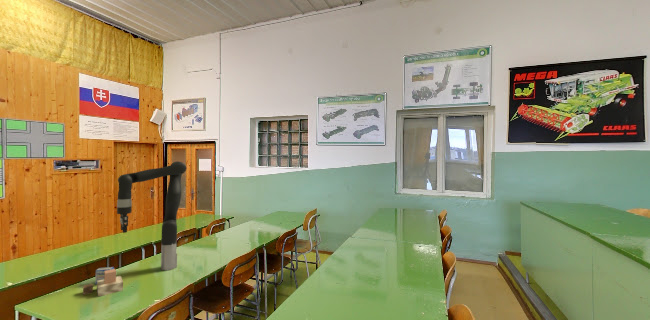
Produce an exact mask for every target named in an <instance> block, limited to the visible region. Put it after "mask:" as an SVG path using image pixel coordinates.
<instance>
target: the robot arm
mask: <svg viewBox="0 0 650 320" xmlns="http://www.w3.org/2000/svg"><path fill="white" fill-rule="evenodd" d="M186 172H187V165H186V163H184V162H183V161H173V162H172V163H171V164H169V165H168V166H163V167H158V168H149V169H146V170H140V171H137V172H130V173H125V174H121V175H120V176H118V178H117V181H118V192H117V201H116V214H118V215H120V216H119V223H120V230H121V231H122V233H123V234H126V233H128V226H129V215H128V214H131V213H132V207H133V203H132V202H133V201H132V189H133V184H134V183H143V182H148V181H151V180H154V179H159V178H162V177H168V176H169V182H168V186H167V191H166V197H165V211H164V212H165V213H164V214H165V215H164V218H163V221H162V224H161V225H162V226H161V242H160V243H161V246H160V247H161V249H160V250H161V252H160V253H161V254H160V256H161V257H160V270H161V271H169V270H174V269H175V268H177V267H178V253H177V242H178V241H177V239H178V225H177V224H178V223H177V220H178V219H177V218H178V215H177V214H178V210H179V208H180V204H181V199H182V184H181V183H182V181H181V180H182V175H183V174H185V173H186Z"/></svg>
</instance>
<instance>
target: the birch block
mask: <svg viewBox="0 0 650 320" xmlns="http://www.w3.org/2000/svg"><path fill="white" fill-rule="evenodd" d="M122 291H124V281H123V279H122V275H116V282H112V283H108V284H105V283H104V279H103V280H99V281H97V284H96V292H97V297H98V298H99V297H103V296H107V295H111V294H114V293H118V292H122Z"/></svg>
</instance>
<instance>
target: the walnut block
mask: <svg viewBox="0 0 650 320" xmlns="http://www.w3.org/2000/svg"><path fill="white" fill-rule="evenodd" d="M93 289H94V285H93V283H88V284H83V286H82V293H83V294H82V295H83V296H86V295H90V294H93V292H94V290H93Z"/></svg>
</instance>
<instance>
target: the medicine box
mask: <svg viewBox="0 0 650 320" xmlns="http://www.w3.org/2000/svg"><path fill="white" fill-rule="evenodd" d="M111 269H115V267H114V266H110V267H109V266H107V267H98V268H97V269H95V281H94V284H95V285H97V281H99V280H103V279H104V271H106V270H111Z"/></svg>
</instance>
